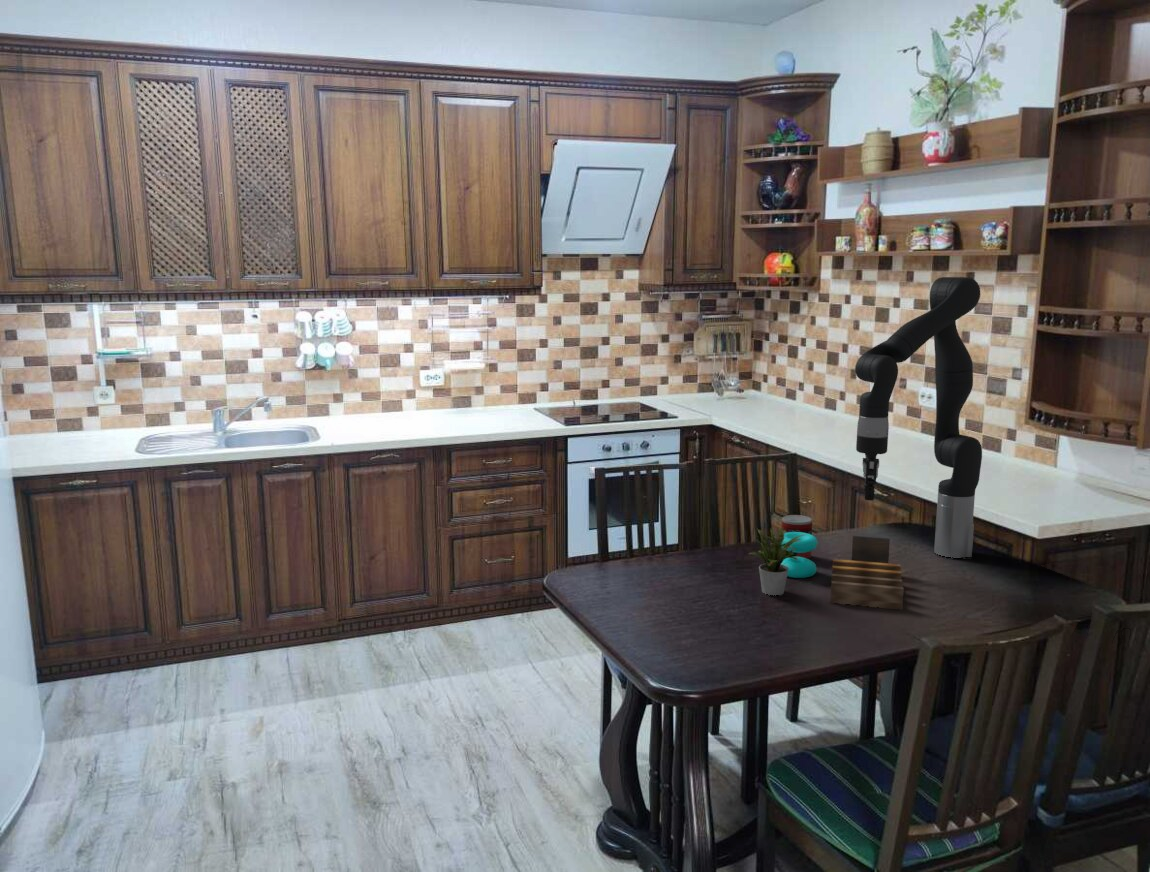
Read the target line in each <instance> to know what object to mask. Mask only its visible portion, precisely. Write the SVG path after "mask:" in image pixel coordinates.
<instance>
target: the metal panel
mask: <svg viewBox="0 0 1150 872" xmlns="http://www.w3.org/2000/svg"><path fill="white" fill-rule="evenodd" d="M890 539H891V538H890V535H882V534H868V533H867V534H866V533H852V544H851V560H852V561H864V562H877V563H889V561H890V560H889V558H890V557H889V555H890V543H891V541H890Z"/></svg>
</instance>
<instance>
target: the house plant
mask: <svg viewBox="0 0 1150 872" xmlns="http://www.w3.org/2000/svg"><path fill="white" fill-rule="evenodd" d="M756 530H757V531H758V534H759V537H760V539H761V542H760V541H759V540H758V539H757V538H755V537H753V536H751V538H752V539H753V540H754V541H755V542H756V543H757V544H758V546H759V547H760V548H761V550H757V552H755V551H751V552H748V555H753V556H757V557H760V558H761V559H762V560H763V561H764V562H765V563H763V564H760V565H759V566H758V571H759V578H760V584H761V592H762V593H763V594H764V593H765V594H764V595H766V594H768V595H767V596H770V595H773V596H772V597H777V596H776V595H779V596H782V595H784V593H785V588H786V583H787V578H788V576H787V574H788V567H787V566H785V565H784V564H785V563H784V564H783V565H782V564H781V563H782V562H783V561H784V559H786V558H793V559H796V560H798V559H797V557H792V556H790V555H793V554H794V553H792V551H794V550H796V549H793V550H791V551H789V552H787V553H785V552H786V551H788V550H787V549H788V547H792V546H790V545H791V544H792V543H793V542H797V541H800V539H797V538H798V537H801V536H804V535H801V536H797V537H795V538H793V539H791V540H790V541H789V542H788V543H785V544H782V542H783V540H784V533H785V530H784V531H783V527H782V526H781V530H780V532H779V534H778V537H777V539H776V538H775V535H774V532H773V529H772V528H771V527H769V530H770V536H768V538H769V539H770V541H771V542H770V545H769V543H768V539H767V537H766V535H765V534H764V533H763V532H762V530H760V529H758V528H756ZM795 539H796V540H795ZM781 544H782V545H781ZM784 545H785V546H784ZM782 546H784V547H783V548H782V550H781V547H782ZM785 548H786V549H785ZM784 553H785V554H784ZM781 554H782V555H781ZM788 561H789V560H788ZM774 595H775V596H774Z"/></svg>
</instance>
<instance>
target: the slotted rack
mask: <svg viewBox="0 0 1150 872" xmlns="http://www.w3.org/2000/svg"><path fill="white" fill-rule="evenodd" d="M831 570H832V573H831V582H830V583H831V586H830V604H834V603H839V604H838V605H845V604H851V605H850V606H856V605H861V606H860V607H866V606H869V607H868V608H877V607H879V608H878V609H889V610H898V609H900V611H902V610H903V604H904V603H903V602H904V590H905V589H904V587H903V579H902V571H901V564H898V563H889V562H888V563H877V562H864V561H852V559H851V560H849V559H839V558H836V559H835V558H833V559H832V569H831Z"/></svg>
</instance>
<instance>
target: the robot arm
mask: <svg viewBox="0 0 1150 872" xmlns="http://www.w3.org/2000/svg"><path fill="white" fill-rule="evenodd" d="M980 298H981V287H980V285H979V283H978V282H977V281H976V279H974V278H971V277H965V276H943V277H939V278H937V279H935V280H934V281H933V283H932V285H931V287H930V290H929V309H930V310H929V311H927V312H925V313H922V314H921V315H918V316H917V317H915V318H913V319H911V320H909V321H908V322H906V323H905V324H904V325H903V324H902V325H901V327H899V328H898V329H897V330H896V331H895V332H894V333H893V334H892V335H891V336H890V337H888V338H887V339H886V340H884V341H882V342H881V343H878V344H877V345H875V346H874V347H872V348H869V349H868V350H867V351H866V352H864V353H863V354H862V355H861V356H859V358H858V359H857V361H856V363H855V367H854V372H855V376H857V377H856V378H858V379H859V380H861V381H864V382H867V383H872V384H873V385H872V388H871V391H866V392H864V393H861V395H860V397H859V408H858V409H859V411H858V413H859V415H858V420H857V424H856V425H857V427H856V428H857V430H856V444H855V445H856V446H855V450H856V451H857V453H860V454H864V455H865V457H862V471H863V475H862V476H863V478H864V487H863V492H864V500H866V501H874V500H875V490H876V489H875V488H876V485H877V478H878V477H879V476H878V475H879V467H880V458H877V456H878V455H885V454H886V453H887V452H888V443H889V431H890V430H889V429H890V427H889V426H890V425H889V410H890V408H889V407H890V399H891V398H892V397H891V396H892V395H893V391H894V388H895V385H896V382H897V380H898V379H897V378H898V376H899V366H898V364H899V363H904V362H905V361H907V360H908V359H909V358H911V356H913V354H914V353H916V352H917V351H918V350H919V349H920V348H921V347H922V346H923V345H924V344H925V343H927V342H928V341H929V340H931V339H932V338H933V340H934V343H933V345H934V374H935V376H934V378H935V379H934V380H935V392H936V393H935V399H936V400H935V401H936V404H935V405H936V406H935V411H936V412H935V415H936V417H935V431H934V441H933V442H934V443H933V450H934V451H933V454H934V456H935V459H936V461H937V463H939V464H940V465H942V466H945V467H948V468H952V474H951V477H950V478H947V479H943V480H941V481H940V482H938V489H937V504H936V517H935V519H936V520H935V535H934V546H933V547H934V548H933V549H934V551H933V552H934V553H936V554H935V555H937V554H938V555H937V556H939V555H941V556H940V557H942V556H945V557H944V558H946V557H951V558H950V559H953V558H961V557H972V556H973V555H972V554H973V542H974V532H975V529H974V527H975V524H974V511H975V509H974V508H975V499H976V497H975V496H976V489H977V486H978V485H979V481H980V473H981V467H982V460H983V449H982V444H981V442H980V441H979V439H977V438H975V437H972V436H968V435H964V434H960V414H961V412H962V409H963V407H964V405H965V404H966V402H967V400H968V398H969V396H970V395H971V392H972V390H973V387H974V369H973V366H974V364H973V360H972V357H971V354H970V353H969V351H968V349H967V347H966V345H965V343H964V342H963V340H962V338H961V336H960V335H959V332H958V331H959V330H958V329H957V320H959V319H960V318H963V316H965V315H966V314H968V313H970V312H971V311H972V310H973V309H975V307H976V306H978V303H979V301H980ZM952 557H953V558H952Z"/></svg>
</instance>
